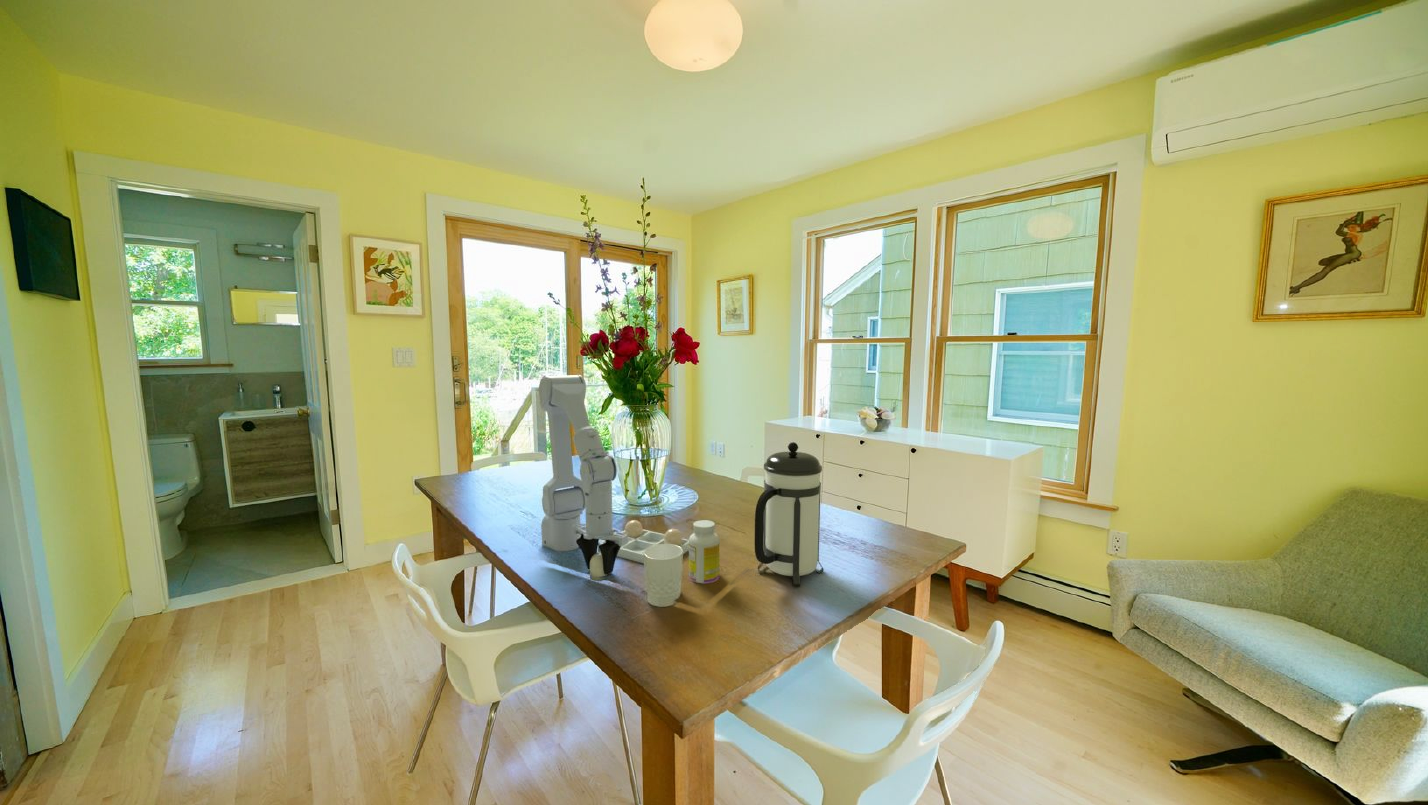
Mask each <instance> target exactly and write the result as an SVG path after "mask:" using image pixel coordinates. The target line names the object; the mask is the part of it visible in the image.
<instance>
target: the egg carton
mask: <svg viewBox="0 0 1428 805" xmlns="http://www.w3.org/2000/svg"><path fill="white" fill-rule="evenodd" d="M620 532H621V533H623V534H625V529H624V530H623V531H622V530H621V531H620ZM664 535H665V533H662V532H661V533H660V532H656V531H652V530H648V529H643V528H642V536H640V537H638V538H636V539H634V538H630V537H628V544H626V545H624V546H621V548H620V550H619V552H618V554H617V557H619V558H622V559H626V560H630V561H633V562H637V563H641V564H644V553H643V552H644V550H645V549H646V548H648V547H650V546H653V545H657V544H664ZM603 543H606V541H605V540H601V541H599V542H598V547H597V552H601V551H600V549H599V545H601V544H603ZM680 547H681V548H682V549H683V555H684V554H686V553H688V552H689V539H687V538H683V537H682V545H681V546H680Z"/></svg>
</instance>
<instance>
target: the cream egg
mask: <svg viewBox="0 0 1428 805" xmlns="http://www.w3.org/2000/svg"><path fill="white" fill-rule="evenodd" d="M607 575H609V574H607ZM607 575H606V574H604V570H603V559H602V554H601V552H600V551H598V552H597V553H596V554H594V555H593V556H592V558H591V560H590V570H589V578H590V580H592V581H595V582H601V581H607V579H606V578H603V577H605V576H607Z"/></svg>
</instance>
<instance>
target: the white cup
mask: <svg viewBox="0 0 1428 805" xmlns="http://www.w3.org/2000/svg"><path fill="white" fill-rule="evenodd" d="M643 553H644V563H643V566H644V567H643V569H644V572H643V573H644V582H645V589H646V599H647V600H646V601H647V603H648V604H650V605H651V606H655V607H659V608H660V607H661V608H663V607H664V608H665V607H670V606H673V605H676V604H677V603H679V601H678V600H677V599H679V598H680V595H681V594H682V592H681V591H682V590H681V588H682V582H683V581H682V577H683V561H684V559H683V557H684V554H683V549H682V548H681V547H679V546H677V545H673V544H657V545H653V546H650V547H648V548H646V549H645V550H644V552H643Z"/></svg>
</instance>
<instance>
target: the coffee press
mask: <svg viewBox="0 0 1428 805" xmlns="http://www.w3.org/2000/svg"><path fill="white" fill-rule="evenodd" d="M787 449H788V451H781V452H776V453H773V454H771V455H769V456H768V457H767V459H766V461H765V463H764V464H763V470H764V471H765V474H764V476H765V479H764V481H763V482H764V483H763V484H764V485H763V486H764V488H763V490H764V491H763V492H762V493H761V495H760V496H759V497H758V500H757V503H756V504H755V505H756V506H755V513H754V554H755V555H754V556H755V557H756V560H757V561H758V562H759V564H758V566H757V571H758V573H759V574H765V572H766V571H768V570H770V571H772V572H774V573H776V574H778V575H782V576H787V577H791V582H792V587H798V588H799V587H800V586H801V583H800V582H801V581H800V576H806V575H809V574H811V573H813V572H814V571H816V572H817V573H818V574H822V573H824V568H823V566H822V564H821V563H820V558H819V557H820V554H819V553H820V552H819V551H820V524H821V523H820V522H821V519H820V518H821V491H822V490H821V489H822V486H821V484H822V482H821V473H822V472H823V466H822V465H821V463H820V460H819V459H818V458H817V457H816V456H814V455H812V454H809V453H806V452H803V451H802V452H801V451H798V449H799V445H798V444H797V443H796V442H794V441H792V442H790V443H789V444H788V446H787ZM818 564H819V565H820V567H821V569H820V570H819V569H817V567H818ZM763 565H765V567H764V568H763V569H762V570H760V569H761V567H763Z"/></svg>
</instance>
